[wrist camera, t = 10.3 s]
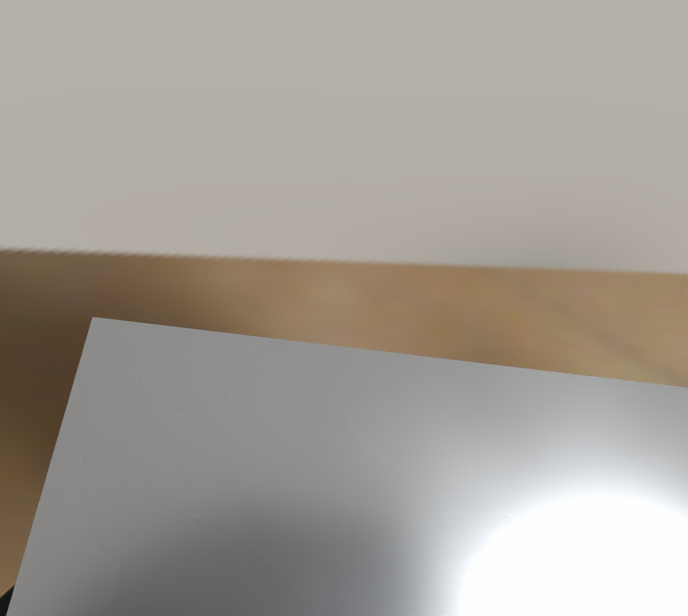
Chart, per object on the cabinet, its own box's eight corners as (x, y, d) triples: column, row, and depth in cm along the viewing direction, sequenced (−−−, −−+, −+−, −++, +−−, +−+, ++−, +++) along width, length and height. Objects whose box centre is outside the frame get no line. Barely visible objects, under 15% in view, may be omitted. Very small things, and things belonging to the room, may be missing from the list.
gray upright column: (383, 645, 12) (884, 1388, 2) (179, 641, 11) (-308, 1709, 2) (390, 440, 13) (688, 387, 4) (216, 424, 13) (93, 317, 3)
